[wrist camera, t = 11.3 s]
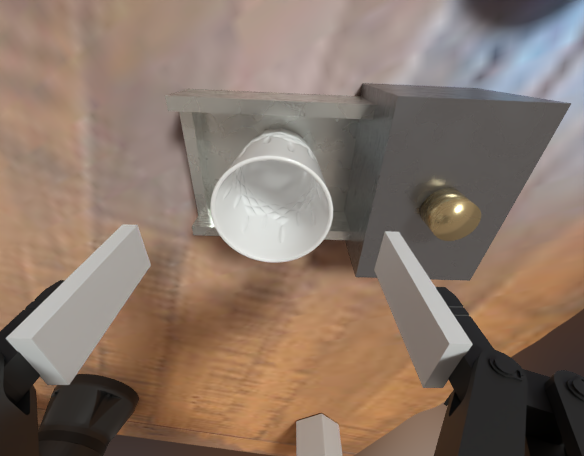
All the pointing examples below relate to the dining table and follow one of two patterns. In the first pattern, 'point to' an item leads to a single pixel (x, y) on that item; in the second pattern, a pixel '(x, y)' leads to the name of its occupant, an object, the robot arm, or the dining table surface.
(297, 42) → the dining table surface
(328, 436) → the white milk carton
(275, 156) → the white cup
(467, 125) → the grey cabinet
